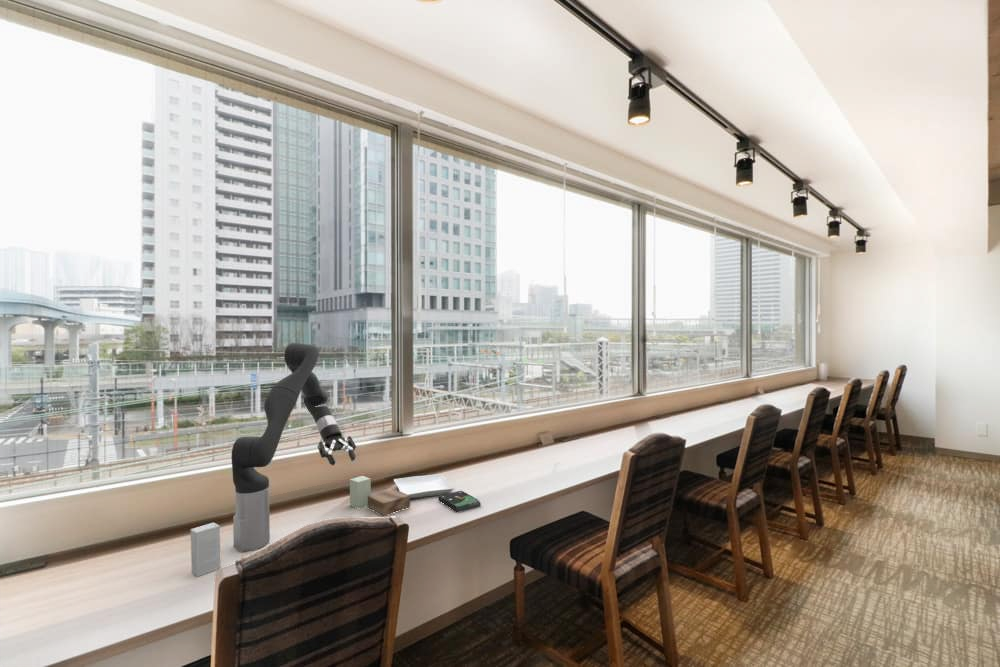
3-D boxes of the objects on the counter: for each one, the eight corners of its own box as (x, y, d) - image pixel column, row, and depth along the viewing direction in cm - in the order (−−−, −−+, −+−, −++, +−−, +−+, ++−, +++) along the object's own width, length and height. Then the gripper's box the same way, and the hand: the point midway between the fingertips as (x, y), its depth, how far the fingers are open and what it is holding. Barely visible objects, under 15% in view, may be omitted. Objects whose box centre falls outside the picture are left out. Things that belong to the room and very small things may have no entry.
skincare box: (215, 564, 133) (214, 521, 133) (221, 568, 131) (220, 525, 131) (190, 572, 129) (189, 528, 129) (196, 577, 126) (195, 532, 126)
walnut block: (383, 517, 167) (383, 503, 167) (367, 509, 174) (367, 495, 174) (409, 508, 174) (409, 495, 174) (393, 501, 182) (393, 488, 182)
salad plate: (454, 495, 188) (454, 487, 188) (401, 503, 180) (401, 494, 180) (441, 480, 208) (441, 472, 208) (392, 487, 200) (392, 478, 200)
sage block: (358, 509, 174) (357, 482, 174) (350, 505, 178) (349, 479, 178) (371, 505, 178) (370, 478, 178) (362, 501, 182) (362, 475, 182)
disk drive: (438, 502, 181) (457, 514, 169) (437, 495, 181) (456, 506, 169) (461, 497, 187) (481, 507, 175) (461, 490, 187) (481, 500, 175)
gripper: (315, 426, 186) (330, 460, 179) (347, 420, 197) (363, 452, 189) (309, 437, 190) (323, 471, 182) (341, 432, 200) (356, 463, 193)
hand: (343, 461), depth 186 cm, fingers open, 8 cm apart
